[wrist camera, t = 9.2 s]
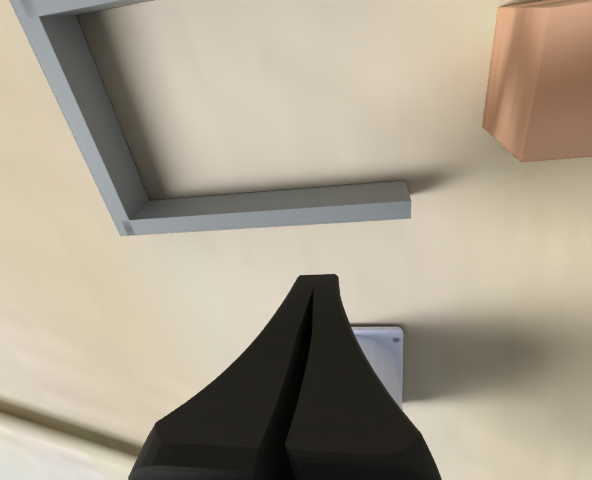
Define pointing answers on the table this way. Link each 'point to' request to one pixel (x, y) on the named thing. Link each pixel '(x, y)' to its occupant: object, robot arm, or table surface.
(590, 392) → the table surface
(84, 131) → the grey u-shaped frame
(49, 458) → the table surface
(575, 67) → the cube
